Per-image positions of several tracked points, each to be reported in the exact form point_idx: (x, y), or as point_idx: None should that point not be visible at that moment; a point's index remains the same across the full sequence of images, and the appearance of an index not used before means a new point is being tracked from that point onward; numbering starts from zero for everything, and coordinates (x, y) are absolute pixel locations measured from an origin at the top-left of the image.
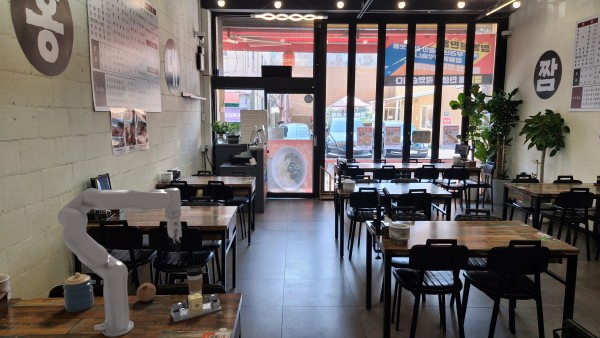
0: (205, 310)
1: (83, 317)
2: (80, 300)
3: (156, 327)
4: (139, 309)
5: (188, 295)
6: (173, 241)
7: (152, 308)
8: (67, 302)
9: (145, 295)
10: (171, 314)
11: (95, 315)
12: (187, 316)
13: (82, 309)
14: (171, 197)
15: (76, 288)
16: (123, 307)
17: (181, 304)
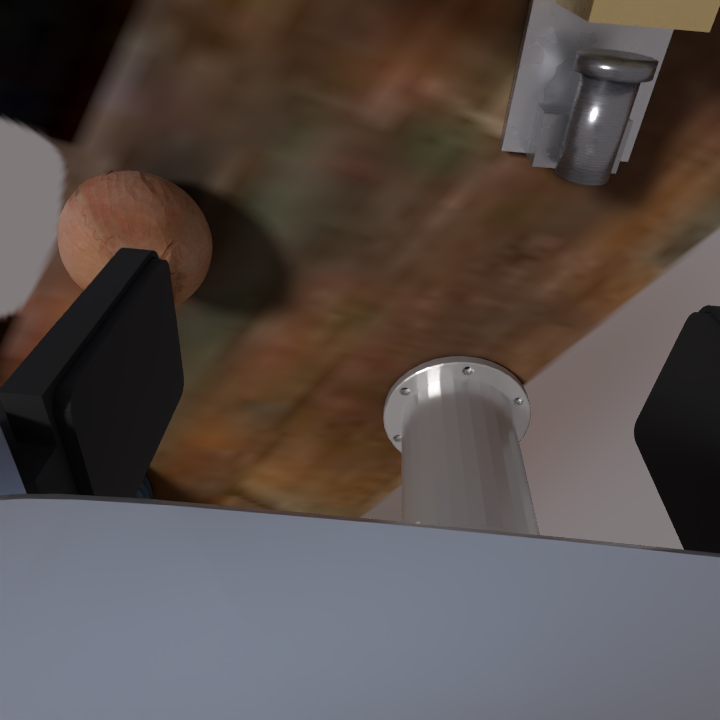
0: None
1: (226, 486)
2: None
3: (591, 270)
4: (283, 287)
5: (594, 14)
6: (136, 373)
7: (317, 221)
8: None
9: (208, 267)
10: (519, 150)
11: (232, 453)
12: (662, 60)
13: (148, 487)
14: None
15: None
16: (531, 500)
17: (628, 112)
